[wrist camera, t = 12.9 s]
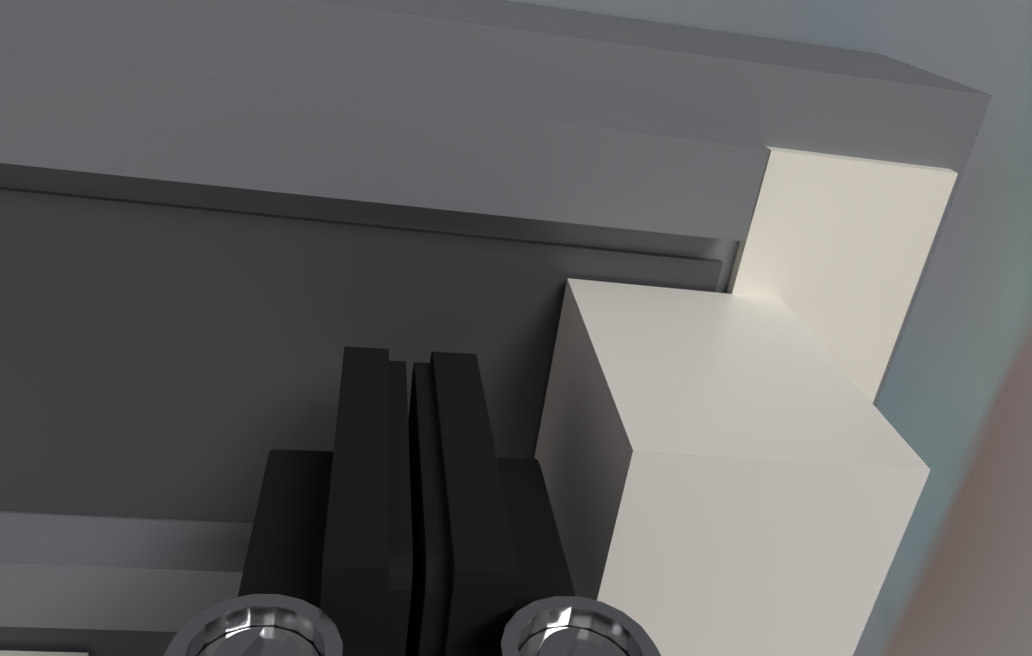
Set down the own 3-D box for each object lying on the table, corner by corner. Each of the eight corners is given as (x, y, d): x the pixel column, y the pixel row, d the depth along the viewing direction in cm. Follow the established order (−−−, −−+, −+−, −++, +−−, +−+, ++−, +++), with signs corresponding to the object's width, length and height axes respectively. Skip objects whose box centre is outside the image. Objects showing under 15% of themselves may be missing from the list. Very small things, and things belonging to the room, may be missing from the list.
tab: (711, 529, 14) (812, 751, 10) (522, 520, 13) (560, 748, 10) (780, 298, 12) (930, 469, 9) (567, 278, 12) (633, 450, 8)
